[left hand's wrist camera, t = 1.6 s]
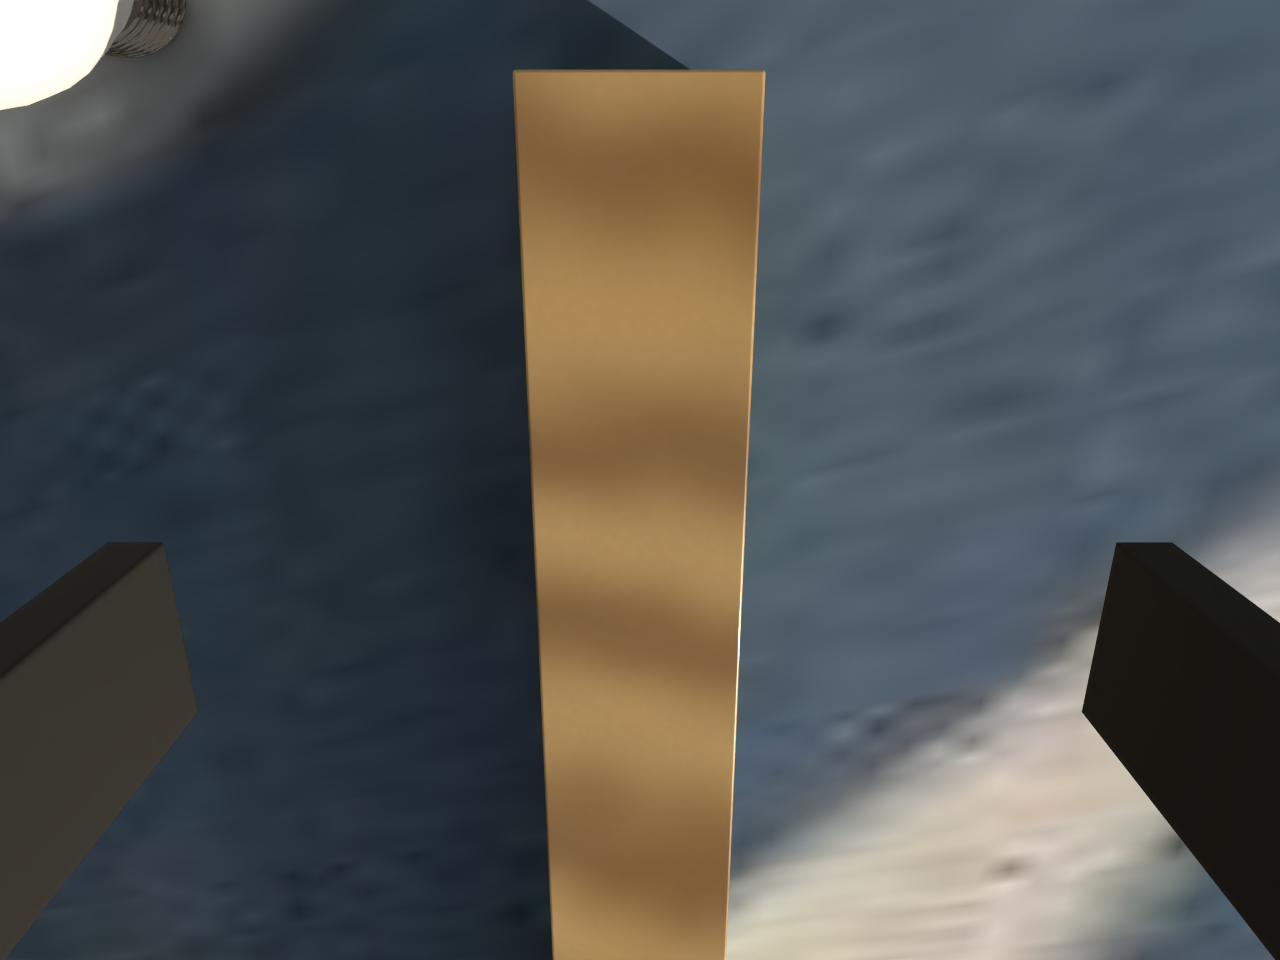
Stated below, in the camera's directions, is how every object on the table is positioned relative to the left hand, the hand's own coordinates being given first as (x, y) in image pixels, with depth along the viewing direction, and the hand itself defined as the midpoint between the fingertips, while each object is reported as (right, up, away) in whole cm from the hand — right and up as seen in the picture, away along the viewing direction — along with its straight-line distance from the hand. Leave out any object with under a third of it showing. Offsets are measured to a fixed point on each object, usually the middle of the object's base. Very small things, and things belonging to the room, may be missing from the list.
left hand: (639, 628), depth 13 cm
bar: (0, -16, +24) cm, 29 cm away
